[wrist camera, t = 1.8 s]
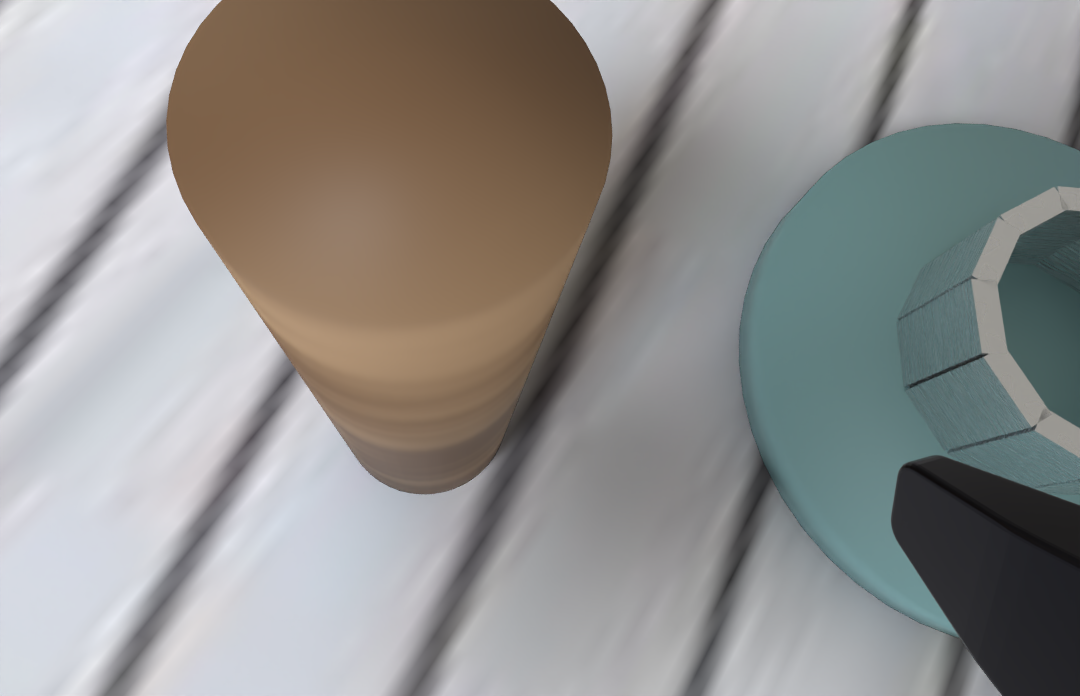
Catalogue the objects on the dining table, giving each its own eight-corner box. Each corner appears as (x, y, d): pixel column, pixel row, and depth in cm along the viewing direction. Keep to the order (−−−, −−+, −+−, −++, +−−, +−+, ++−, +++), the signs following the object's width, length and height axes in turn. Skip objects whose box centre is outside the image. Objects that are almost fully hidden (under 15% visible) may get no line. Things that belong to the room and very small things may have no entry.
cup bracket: (1318, 484, 22) (1531, 460, 18) (939, 762, 19) (1088, 814, 14) (1018, 87, 25) (1139, -18, 20) (643, 266, 21) (693, 185, 17)
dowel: (534, 447, 20) (690, 210, 7) (387, 523, 19) (278, 402, 6) (461, 311, 20) (491, -110, 8) (317, 378, 19) (98, 17, 7)
